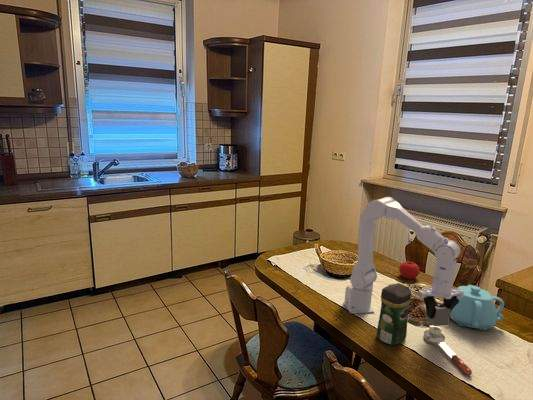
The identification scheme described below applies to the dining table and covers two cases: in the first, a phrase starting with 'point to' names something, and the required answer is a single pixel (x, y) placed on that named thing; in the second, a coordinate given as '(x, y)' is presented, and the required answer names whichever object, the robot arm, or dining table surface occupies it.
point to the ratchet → (444, 347)
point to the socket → (440, 315)
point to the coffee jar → (394, 314)
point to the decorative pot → (476, 308)
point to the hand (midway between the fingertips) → (437, 316)
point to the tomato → (409, 270)
